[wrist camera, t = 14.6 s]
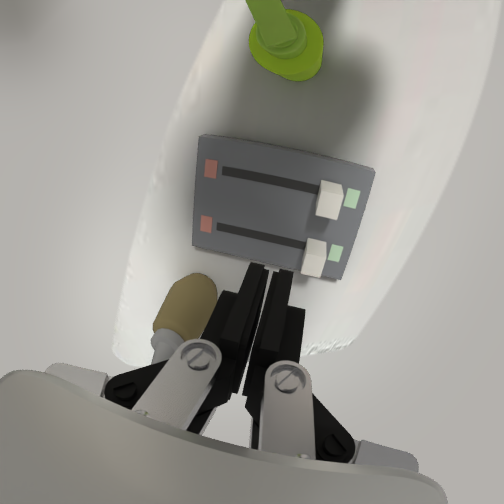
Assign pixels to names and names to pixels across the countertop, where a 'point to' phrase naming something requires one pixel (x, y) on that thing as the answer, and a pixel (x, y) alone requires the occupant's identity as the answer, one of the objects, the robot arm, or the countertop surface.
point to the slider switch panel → (274, 202)
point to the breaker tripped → (314, 258)
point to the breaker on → (329, 200)
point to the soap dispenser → (285, 40)
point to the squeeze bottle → (183, 314)
